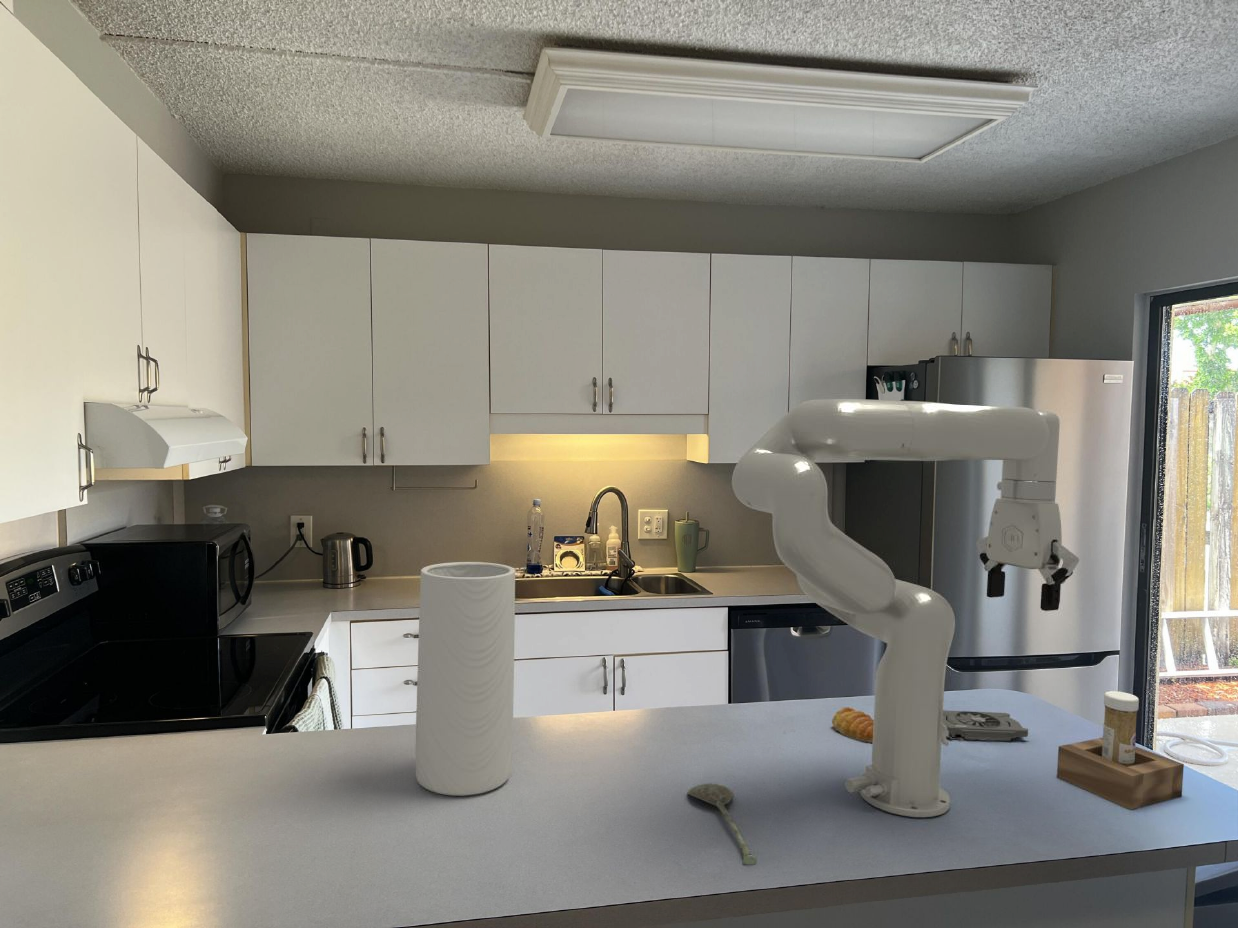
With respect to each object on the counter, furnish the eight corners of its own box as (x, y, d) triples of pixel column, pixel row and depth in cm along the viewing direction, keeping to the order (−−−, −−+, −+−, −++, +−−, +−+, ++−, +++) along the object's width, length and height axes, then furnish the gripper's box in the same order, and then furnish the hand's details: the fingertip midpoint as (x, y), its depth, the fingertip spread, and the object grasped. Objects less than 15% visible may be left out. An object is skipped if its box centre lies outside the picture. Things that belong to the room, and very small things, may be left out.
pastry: (892, 741, 147) (893, 720, 146) (863, 747, 144) (864, 725, 143) (855, 723, 155) (856, 703, 155) (826, 729, 152) (827, 708, 152)
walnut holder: (1130, 809, 122) (1132, 775, 122) (1056, 777, 133) (1058, 746, 133) (1181, 796, 127) (1183, 763, 127) (1106, 766, 138) (1108, 736, 138)
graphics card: (942, 728, 145) (917, 703, 157) (940, 750, 145) (916, 723, 157) (1039, 732, 145) (1007, 707, 157) (1037, 754, 145) (1005, 727, 157)
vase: (505, 800, 119) (510, 579, 117) (404, 797, 119) (408, 576, 117) (517, 759, 133) (522, 562, 132) (426, 757, 133) (430, 560, 131)
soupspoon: (725, 794, 126) (683, 798, 125) (725, 772, 126) (682, 775, 125) (774, 866, 104) (723, 871, 103) (774, 839, 104) (722, 843, 103)
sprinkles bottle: (1134, 788, 127) (1139, 701, 126) (1099, 781, 129) (1104, 695, 129) (1133, 777, 131) (1138, 693, 130) (1099, 771, 133) (1104, 687, 133)
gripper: (964, 487, 134) (959, 593, 135) (1062, 497, 118) (1055, 617, 119) (998, 487, 137) (992, 590, 138) (1097, 497, 122) (1090, 613, 122)
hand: (1021, 603), depth 129 cm, fingers open, 9 cm apart
